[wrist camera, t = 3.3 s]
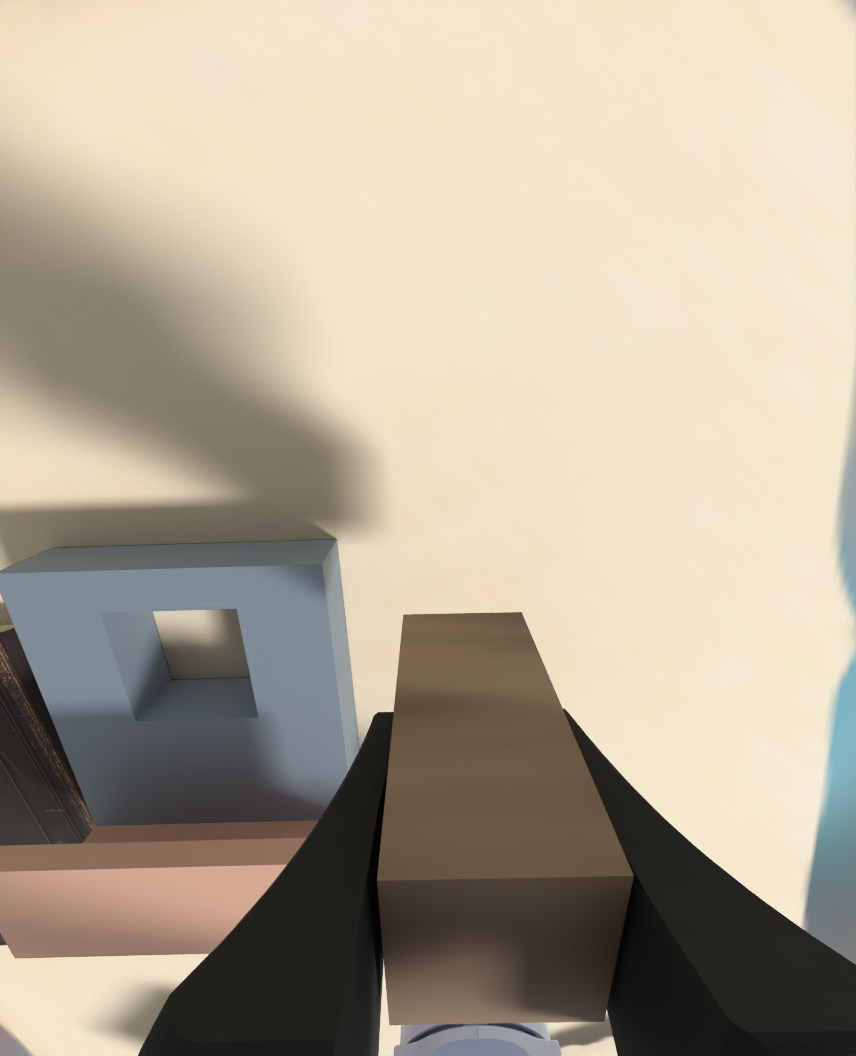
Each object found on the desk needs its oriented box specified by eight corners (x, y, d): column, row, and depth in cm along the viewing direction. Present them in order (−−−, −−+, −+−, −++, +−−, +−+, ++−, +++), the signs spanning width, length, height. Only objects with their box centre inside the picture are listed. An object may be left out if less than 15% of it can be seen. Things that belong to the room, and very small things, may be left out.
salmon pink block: (355, 832, 23) (336, 950, 18) (100, 839, 23) (15, 958, 18) (345, 755, 21) (322, 863, 16) (69, 762, 21) (-35, 872, 16)
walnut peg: (515, 707, 15) (603, 1021, 8) (407, 709, 15) (390, 1024, 8) (521, 612, 14) (633, 875, 6) (403, 614, 14) (377, 881, 6)
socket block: (363, 782, 25) (355, 832, 23) (136, 788, 26) (100, 839, 23) (337, 539, 20) (322, 564, 17) (52, 547, 20) (-8, 573, 18)
